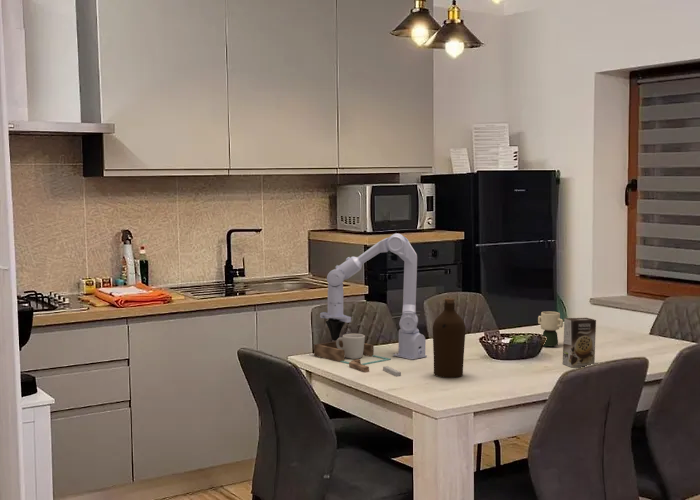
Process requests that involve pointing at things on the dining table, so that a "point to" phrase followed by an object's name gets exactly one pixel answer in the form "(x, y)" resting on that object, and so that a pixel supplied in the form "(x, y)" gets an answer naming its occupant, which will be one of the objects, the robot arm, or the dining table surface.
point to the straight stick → (391, 371)
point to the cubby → (337, 350)
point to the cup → (352, 345)
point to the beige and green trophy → (550, 326)
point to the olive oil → (448, 342)
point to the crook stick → (358, 365)
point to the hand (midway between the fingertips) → (335, 340)
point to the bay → (373, 361)
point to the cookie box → (579, 342)
